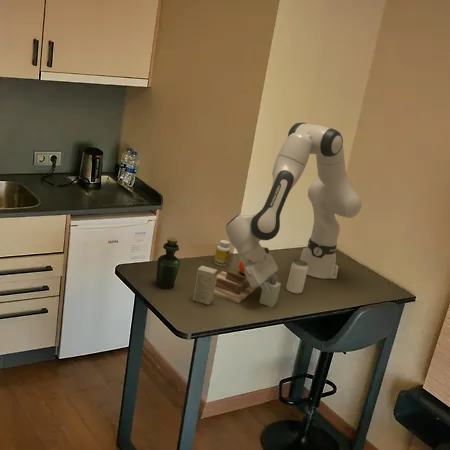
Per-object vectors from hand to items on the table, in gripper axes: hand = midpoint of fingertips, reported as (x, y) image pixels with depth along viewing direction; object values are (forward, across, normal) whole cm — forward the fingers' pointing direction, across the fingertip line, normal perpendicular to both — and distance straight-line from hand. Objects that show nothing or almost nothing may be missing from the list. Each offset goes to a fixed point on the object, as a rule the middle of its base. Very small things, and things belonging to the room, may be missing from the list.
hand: (272, 290), depth 223 cm
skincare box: (-10, -17, +18) cm, 27 cm away
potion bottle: (-21, -16, +29) cm, 40 cm away
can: (+6, +19, +2) cm, 20 cm away
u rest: (-8, +1, +16) cm, 18 cm away
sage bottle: (+3, 0, +4) cm, 5 cm away
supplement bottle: (-17, +20, +25) cm, 36 cm away
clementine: (-8, +18, +16) cm, 26 cm away
